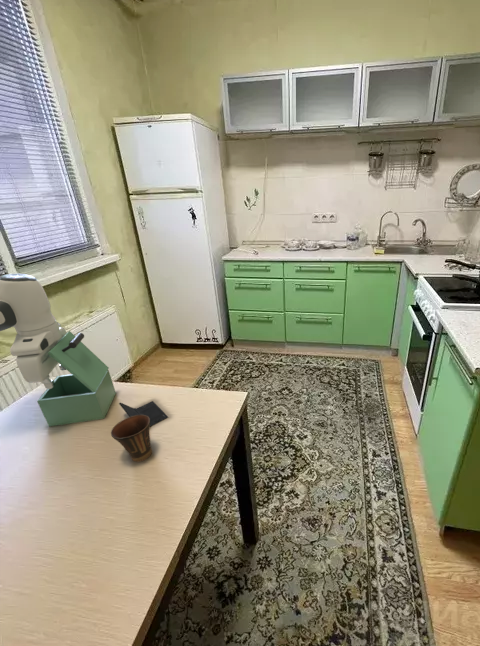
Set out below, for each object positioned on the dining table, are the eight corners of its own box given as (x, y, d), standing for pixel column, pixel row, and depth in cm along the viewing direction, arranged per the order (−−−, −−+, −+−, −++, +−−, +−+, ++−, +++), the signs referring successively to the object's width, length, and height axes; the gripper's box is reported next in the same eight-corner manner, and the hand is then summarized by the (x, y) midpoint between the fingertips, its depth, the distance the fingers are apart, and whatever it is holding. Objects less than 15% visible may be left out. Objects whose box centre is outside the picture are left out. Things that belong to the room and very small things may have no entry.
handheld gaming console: (174, 410, 95) (146, 398, 87) (161, 434, 92) (132, 423, 85) (153, 401, 102) (126, 389, 94) (140, 422, 99) (112, 412, 92)
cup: (136, 438, 87) (126, 409, 83) (165, 444, 85) (157, 414, 81) (112, 464, 80) (101, 433, 75) (143, 471, 78) (133, 440, 73)
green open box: (50, 428, 92) (37, 401, 87) (67, 401, 103) (57, 375, 98) (105, 420, 94) (95, 393, 90) (116, 395, 105) (108, 369, 101)
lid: (47, 353, 82) (63, 343, 82) (67, 332, 93) (81, 323, 93) (93, 393, 90) (108, 383, 89) (106, 369, 101) (120, 360, 100)
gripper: (45, 320, 95) (61, 360, 101) (5, 354, 77) (27, 400, 83) (69, 318, 96) (83, 358, 102) (35, 350, 78) (55, 397, 84)
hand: (58, 377), depth 92 cm, fingers open, 8 cm apart
